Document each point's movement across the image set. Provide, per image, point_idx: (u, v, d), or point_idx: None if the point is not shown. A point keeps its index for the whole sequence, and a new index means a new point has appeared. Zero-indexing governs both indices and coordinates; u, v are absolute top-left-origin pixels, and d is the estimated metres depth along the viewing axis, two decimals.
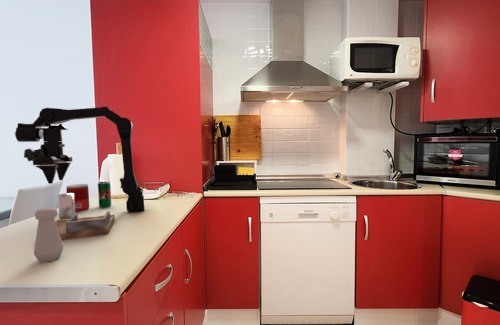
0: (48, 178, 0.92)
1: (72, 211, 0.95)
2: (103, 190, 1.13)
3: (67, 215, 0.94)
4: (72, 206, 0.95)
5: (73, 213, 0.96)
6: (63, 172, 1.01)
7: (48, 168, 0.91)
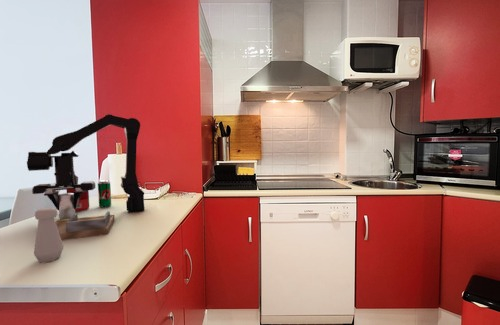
0: None
1: (72, 211, 0.95)
2: (103, 190, 1.13)
3: (67, 215, 0.94)
4: (72, 206, 0.95)
5: (73, 213, 0.96)
6: None
7: None
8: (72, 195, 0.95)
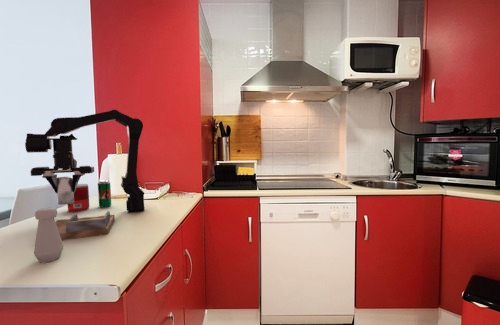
0: None
1: (70, 194, 0.94)
2: (103, 190, 1.13)
3: (66, 198, 0.93)
4: (71, 189, 0.95)
5: (72, 196, 0.95)
6: None
7: None
8: (71, 178, 0.95)
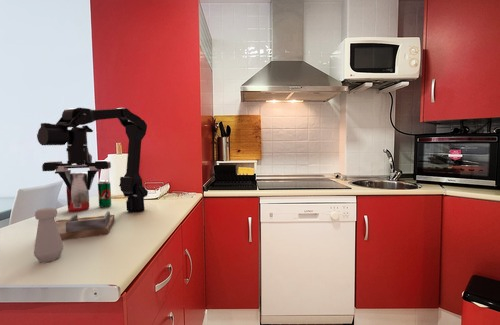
0: None
1: (85, 192, 0.85)
2: (103, 190, 1.13)
3: (80, 196, 0.84)
4: (85, 186, 0.85)
5: (86, 194, 0.86)
6: None
7: None
8: (85, 174, 0.86)
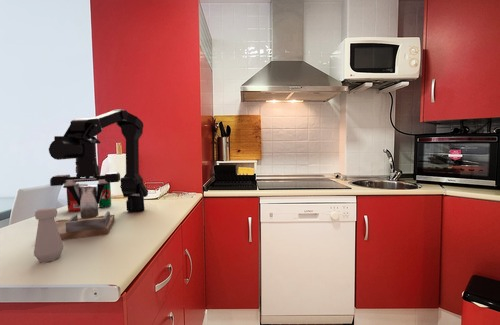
0: None
1: (94, 206, 0.82)
2: (103, 190, 1.13)
3: (90, 211, 0.81)
4: (95, 200, 0.82)
5: (96, 209, 0.83)
6: None
7: None
8: (95, 188, 0.82)
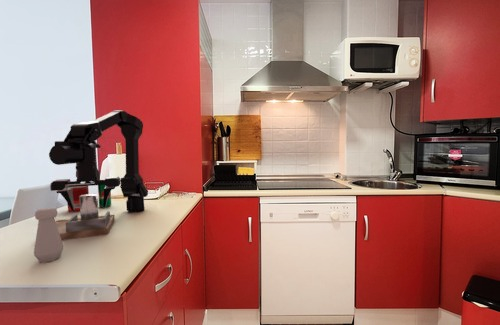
0: None
1: (95, 215, 0.82)
2: (103, 190, 1.13)
3: None
4: (95, 209, 0.82)
5: (96, 217, 0.83)
6: None
7: None
8: (96, 197, 0.82)
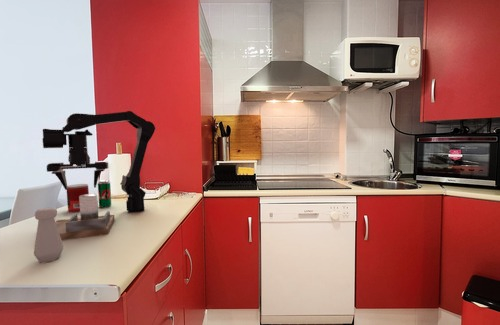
0: None
1: (95, 215, 0.82)
2: (103, 190, 1.13)
3: None
4: (95, 209, 0.82)
5: (96, 217, 0.83)
6: (94, 180, 0.96)
7: None
8: (95, 196, 0.82)
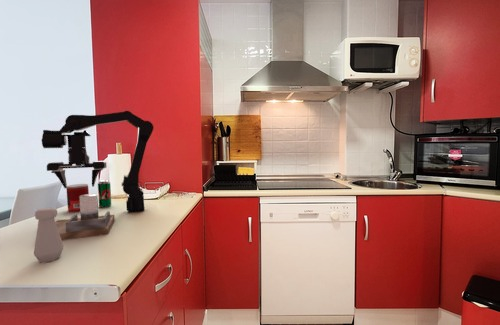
0: None
1: (95, 215, 0.82)
2: (103, 190, 1.13)
3: None
4: (95, 209, 0.82)
5: (96, 217, 0.83)
6: None
7: None
8: (96, 197, 0.82)
